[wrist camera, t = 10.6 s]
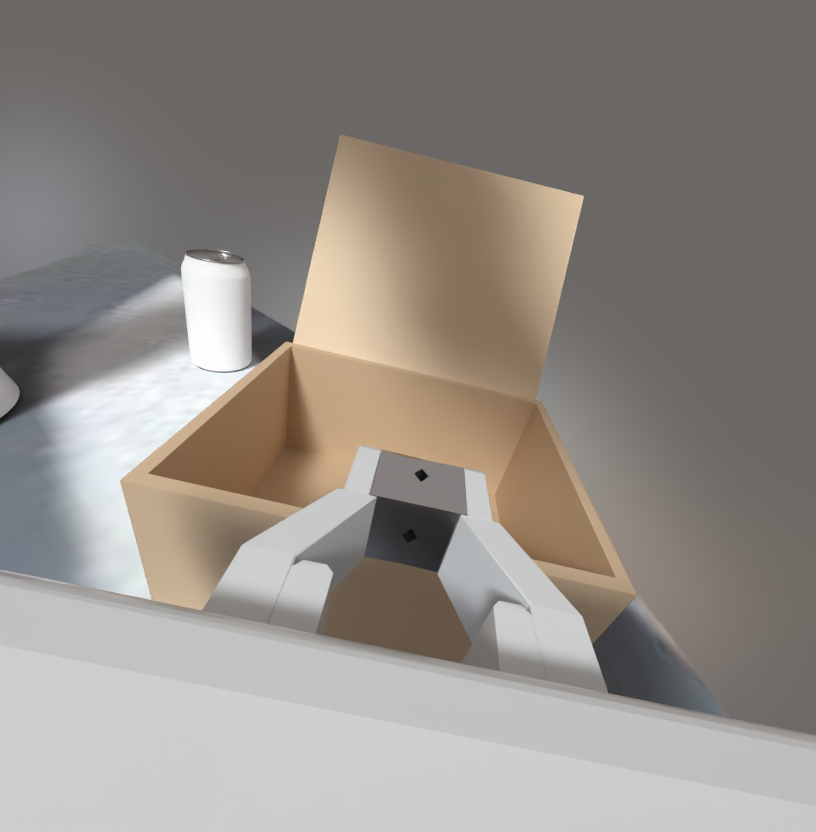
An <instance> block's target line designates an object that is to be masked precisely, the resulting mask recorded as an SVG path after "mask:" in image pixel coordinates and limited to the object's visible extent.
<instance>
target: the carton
mask: <svg viewBox="0 0 816 832" xmlns="http://www.w3.org/2000/svg"><path fill="white" fill-rule="evenodd" d="M360 445H366V446H370V447H375V448H379V449H381V451H382V449H383V450H388V451H392V452H396V453H400V454H404V455H408V456H412V457H417V458H421V459H423V460H428V461H433V462H437V463H442V464H447V465H452V466H456V467H461V468H462V467H465V468H470V469H475V470H480V471H483V472H484V473H485V475H486V481H487V487H488V493H489V499H490V505H491V511H492V517H493V522H497V523H500V524H501V525H502V526H503V528H504V529H505V530H506V531H507V532H508V533H509V534H510V535H511V537H512V538H513V539H514V540H515V541H516V542H517V543H518V545H519V546H520V547H521V548H522V549H523V550H524V551H525V552H526V554H527V555H528V556H529V557H530V558H531V559H532V560H533V561H534V563H535V564H536V565H537V566H538V567H539V568H540V569H541V570H542V572H543V573H544V574H545V575H546V576H547V577H548V578H549V579H550V581H551V582H552V583H553V584H554V585H555V586H556V587H557V589H558V590H559V591H560V592H561V593H562V594H563V595H564V596H565V598H566V599H567V600H568V601H569V602H570V603H571V604H572V605H573V607H574V608H575V609H576V610H577V611H578V612H579V613H580V614H581V616H582V617H583V620H584V623H585V626H586V629H587V631H588V634H589V637H590V640H591V643H592V644H593V643H594V642H595V641H596V640H597V639H598V638H599V636H600V635H601V634H602V633H603V632H604V631H605V630H606V629H607V628H608V627H609V625H610V624H611V623H612V622H613V621H614V620H615V619H616V618H617V617H618V616H619V615H620V613H621V612H622V611H623V610H624V609H625V608H626V607H627V606H628V605H629V604H630V602H631V601H632V600H633V599H634V598H635V597H636V596H637V593H636V591H635V589H634V587H633V585H632V584H631V581H630V579H629V577H628V575H627V573H626V571H625V569H624V567H623V565H622V563H621V561H620V559H619V557H618V555H617V553H616V551H615V549H614V547H613V545H612V543H611V541H610V539H609V537H608V535H607V533H606V531H605V529H604V527H603V525H602V523H601V520H600V518H599V516H598V514H597V513H596V510H595V509H594V506H593V504H592V502H591V500H590V498H589V496H588V494H587V492H586V490H585V488H584V486H583V484H582V482H581V480H580V478H579V476H578V474H577V472H576V470H575V468H574V466H573V464H572V462H571V460H570V458H569V456H568V454H567V452H566V450H565V448H564V446H563V444H562V442H561V440H560V437H559V435H558V433H557V431H556V429H555V428H554V426H553V423H552V421H551V419H550V417H549V415H548V413H547V411H546V409H545V407H544V405H543V403H542V402H541V401H537V400H533V399H528V398H524V397H520V396H516V395H511V394H507V393H503V392H499V391H494V390H490V389H486V388H482V387H477V386H473V385H469V384H465V383H460V382H456V381H452V380H448V379H443V378H439V377H435V376H431V375H426V374H422V373H418V372H414V371H409V370H405V369H401V368H397V367H392V366H388V365H384V364H380V363H375V362H371V361H367V360H363V359H358V358H354V357H350V356H346V355H341V354H337V353H333V352H329V351H324V350H320V349H316V348H312V347H307V346H303V345H299V344H295V343H290V342H285V343H284V344H283V345H281V346H280V347H279V348H278V349H277V350H275V351H274V352H273V353H272V354H271V355H269V356H268V357H267V358H266V359H265V360H263V361H262V362H261V363H260V364H259V365H258V366H256V367H255V368H254V369H253V370H252V371H250V372H249V373H248V374H247V375H246V376H244V377H243V378H242V379H241V380H240V381H238V382H237V383H236V384H235V385H234V386H232V387H231V388H230V389H229V390H228V391H226V392H225V393H224V394H223V395H222V396H220V397H219V398H218V399H217V400H216V401H214V402H213V403H212V404H211V405H210V406H208V407H207V408H206V409H205V410H204V411H202V412H201V413H200V414H199V415H198V416H196V417H195V418H194V419H193V420H192V421H190V422H189V423H188V424H187V425H186V426H185V427H183V428H182V429H181V430H180V431H179V432H177V433H176V434H175V435H174V436H173V437H171V438H170V439H169V440H168V441H167V442H165V443H164V444H163V445H162V446H161V447H159V448H158V449H157V450H156V451H155V452H153V453H152V454H151V455H150V456H149V457H147V458H146V459H145V460H144V461H143V462H141V463H140V464H139V465H138V466H137V467H135V468H134V469H133V470H132V471H131V472H129V473H128V474H127V475H126V476H125V477H123V478H122V479H121V480H120V482H121V486H122V490H123V493H124V497H125V501H126V505H127V508H128V512H129V516H130V519H131V523H132V527H133V531H134V534H135V538H136V542H137V546H138V549H139V553H140V557H141V561H142V564H143V568H144V572H145V576H146V579H147V583H148V587H149V591H150V594H151V598H152V600H153V601H157V602H162V603H167V604H172V605H177V606H182V607H187V608H192V609H197V610H203V608H204V606H205V605H206V603H207V601H208V600H209V598H210V596H211V595H212V593H213V592H214V590H215V588H216V587H217V585H218V583H219V582H220V580H221V578H222V577H223V575H224V574H225V572H226V570H227V569H228V567H229V565H230V564H231V562H232V560H233V559H234V557H235V555H236V554H237V552H238V551H239V549H240V547H241V546H242V544H244V543H246V542H247V541H249V540H251V539H252V538H254V537H256V536H257V535H259V534H261V533H262V532H264V531H266V530H268V529H269V528H271V527H273V526H274V525H276V524H278V523H279V522H281V521H283V520H284V519H286V518H288V517H289V516H291V515H293V514H294V513H296V512H298V511H299V510H301V509H303V508H305V507H306V506H308V505H310V504H311V503H313V502H315V501H316V500H318V499H320V498H321V497H323V496H325V495H326V494H328V493H330V492H331V491H333V490H335V489H337V488H339V489H344V487H345V484H346V481H347V478H348V476H349V473H350V470H351V467H352V465H353V462H354V459H355V456H356V453H357V451H358V448H359V446H360ZM323 635H324V636H329V637H334V638H339V639H344V640H349V641H354V642H359V643H364V644H368V645H373V646H378V647H383V648H388V649H393V650H398V651H403V652H408V653H413V654H417V655H422V656H427V657H432V658H437V659H442V660H447V661H452V662H457V663H462V661H463V659H464V657H465V655H466V654H467V652H468V650H469V648H470V647H471V645H472V642H471V640H470V638H469V636H468V634H467V632H466V630H465V628H464V626H463V624H462V622H461V620H460V618H459V616H458V614H457V612H456V610H455V608H454V606H453V604H452V602H451V600H450V598H449V596H448V594H447V592H446V590H445V588H444V586H443V584H442V582H441V580H440V578H439V576H438V572H433V571H429V570H425V569H421V568H417V567H412V566H408V565H404V564H400V563H394V562H389V561H383V560H378V559H372V558H367V557H364V559H363V560H362V561H361V562H360V563H359V564H358V565H357V566H356V567H355V568H354V569H353V570H352V571H351V572H350V573H349V574H348V575H347V576H346V577H345V578H344V579H343V580H342V581H341V582H340V583H339V584H338V585H337V586H336V587H335V588H334V589H333V590H332V591H331V592H330V596H329V603H328V609H327V615H326V622H325V628H324V634H323Z"/></svg>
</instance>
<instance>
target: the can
mask: <svg viewBox="0 0 816 832" xmlns="http://www.w3.org/2000/svg"><path fill="white" fill-rule="evenodd" d="M184 253H185V258H184V261H183V263H182V266H181V274H182V285H183V294H184V304H185V313H186V322H187V331H188V340H189V348H190V356H191V361H192V362H193V363H194V364H195V365H196V366H197V367H199V368H201V369H203V370H206V371H210V372H218V373H228V372H235V371H239V370H242V369H244V368H246V367H247V366H248V365H249V364H250V363H251V360H252V340H251V283H250V273H249V271H248V269H247V267H246V265H245V261H246V259H245V258H244V257H243V256H240V255H238V254H235V253H231V252H227V251H222V250H216V249H206V248H190V249H186V250H184Z"/></svg>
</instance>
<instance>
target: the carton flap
mask: <svg viewBox="0 0 816 832" xmlns="http://www.w3.org/2000/svg"><path fill="white" fill-rule="evenodd" d="M583 197H584V196H582V195H577V194H573V193H570V192H566V191H562V190H558V189H554V188H550V187H546V186H542V185H538V184H534V183H530V182H526V181H522V180H518V179H514V178H510V177H506V176H502V175H498V174H494V173H491V172H486V171H483V170H479V169H475V168H471V167H467V166H463V165H459V164H455V163H451V162H447V161H443V160H439V159H435V158H431V157H427V156H423V155H419V154H415V153H411V152H407V151H403V150H399V149H395V148H392V147H388V146H383V145H379V144H376V143H372V142H367V141H364V140H360V139H356V138H351V137H348V136H344V135H340V138H339V143H338V147H337V151H336V156H335V160H334V165H333V169H332V174H331V178H330V182H329V187H328V191H327V195H326V199H325V204H324V209H323V213H322V217H321V221H320V226H319V231H318V235H317V239H316V243H315V248H314V252H313V257H312V261H311V266H310V270H309V274H308V279H307V283H306V288H305V292H304V296H303V301H302V305H301V310H300V314H299V318H298V322H297V327H296V331H295V336H294V340H293V343H295V344H299V345H303V346H307V347H312V348H316V349H320V350H324V351H329V352H333V353H337V354H341V355H346V356H350V357H354V358H358V359H363V360H367V361H371V362H375V363H380V364H384V365H388V366H392V367H397V368H401V369H405V370H409V371H414V372H418V373H422V374H426V375H431V376H435V377H439V378H443V379H448V380H452V381H456V382H460V383H465V384H469V385H473V386H477V387H482V388H486V389H490V390H494V391H499V392H503V393H507V394H511V395H516V396H520V397H524V398H528V399H533V400H536V397H537V392H538V388H539V383H540V379H541V375H542V371H543V367H544V363H545V358H546V354H547V350H548V346H549V341H550V337H551V333H552V329H553V325H554V320H555V316H556V312H557V308H558V303H559V299H560V294H561V291H562V286H563V282H564V278H565V273H566V269H567V265H568V261H569V257H570V253H571V248H572V244H573V240H574V235H575V231H576V227H577V223H578V219H579V214H580V210H581V206H582V201H583Z"/></svg>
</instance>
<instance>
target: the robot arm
mask: <svg viewBox="0 0 816 832" xmlns="http://www.w3.org/2000/svg"><path fill="white" fill-rule="evenodd" d="M19 394H20V392H19V388H18V386H17V384H16V383H15V382H14V381H13V380H12V379H11V378H10V377H9V376H8V375H7V374H6V373H5V372H4V371H3V369H2V368H1V367H0V418H1V417H2V416H3V415H5V414H6V413H7V412H8V411H9V410H11V408H12V407H13V406H14V405H15V404H16V402H17V400H18V398H19ZM364 557H367V558H372V559H378V560H383V561H389V562H394V563H400V564H404V565H408V566H412V567H417V568H421V569H425V570H429V571H433V572H438V576H439V578H440V580H441V582H442V584H443V586H444V588H445V590H446V592H447V594H448V596H449V598H450V600H451V602H452V604H453V606H454V608H455V610H456V612H457V614H458V616H459V618H460V620H461V622H462V624H463V626H464V628H465V630H466V632H467V634H468V636H469V638H470V640H471V642H472V645H471V647H470V648H469V650H468V652H467V654H466V655H465V657H464V659H463V661H462V663H457V662H452V661H447V660H442V659H437V658H432V657H427V656H422V655H417V654H413V653H408V652H403V651H398V650H393V649H388V648H383V647H378V646H373V645H368V644H364V643H359V642H354V641H349V640H344V639H339V638H334V637H329V636H324V635H323V634H324V628H325V622H326V615H327V609H328V603H329V596H330V592H331V591H332V590H333V589H334V588H335V587H336V586H337V585H338V584H339V583H340V582H341V581H342V580H343V579H344V578H345V577H346V576H347V575H348V574H349V573H350V572H351V571H352V570H353V569H354V568H355V567H356V566H357V565H358V564H359V563H360V562H361V561H362V560H363V559H364ZM0 832H816V735H811V734H806V733H801V732H796V731H791V730H786V729H781V728H776V727H771V726H767V725H762V724H757V723H752V722H747V721H742V720H737V719H733V718H728V717H723V716H718V715H713V714H708V713H703V712H698V711H693V710H688V709H684V708H679V707H674V706H669V705H664V704H659V703H654V702H649V701H644V700H639V699H634V698H629V697H625V696H620V695H615V694H610V693H608V690H607V687H606V684H605V681H604V678H603V676H602V673H601V670H600V667H599V664H598V661H597V658H596V655H595V652H594V649H593V646H592V643H591V640H590V637H589V634H588V631H587V629H586V626H585V623H584V620H583V617H582V616H581V614H580V613H579V612H578V611H577V610H576V609H575V608H574V607H573V605H572V604H571V603H570V602H569V601H568V600H567V599H566V598H565V596H564V595H563V594H562V593H561V592H560V591H559V590H558V589H557V587H556V586H555V585H554V584H553V583H552V582H551V581H550V579H549V578H548V577H547V576H546V575H545V574H544V573H543V572H542V570H541V569H540V568H539V567H538V566H537V565H536V564H535V563H534V561H533V560H532V559H531V558H530V557H529V556H528V555H527V554H526V552H525V551H524V550H523V549H522V548H521V547H520V546H519V545H518V543H517V542H516V541H515V540H514V539H513V538H512V537H511V535H510V534H509V533H508V532H507V531H506V530H505V529H504V528H503V526H502V525H501V524H500V523H497V522H493V517H492V511H491V505H490V499H489V493H488V487H487V481H486V475H485V473H484V472H483V471H480V470H475V469H470V468H465V467H462V468H461V467H456V466H452V465H447V464H442V463H437V462H433V461H428V460H423V459H421V458H417V457H412V456H408V455H404V454H400V453H396V452H392V451H388V450H383V449H382V451H381V449H379V448H375V447H370V446H366V445H360V446H359V448H358V451H357V453H356V456H355V459H354V462H353V465H352V467H351V470H350V473H349V476H348V478H347V481H346V484H345V487H344V489H339V488H337V489H335V490H333V491H331V492H330V493H328V494H326V495H325V496H323V497H321V498H320V499H318V500H316V501H315V502H313V503H311V504H310V505H308V506H306V507H305V508H303V509H301V510H299V511H298V512H296V513H294V514H293V515H291V516H289V517H288V518H286V519H284V520H283V521H281V522H279V523H278V524H276V525H274V526H273V527H271V528H269V529H268V530H266V531H264V532H262V533H261V534H259V535H257V536H256V537H254V538H252V539H251V540H249V541H247V542H246V543H244V544H242V546H241V547H240V549H239V551H238V552H237V554H236V555H235V557H234V559H233V560H232V562H231V564H230V565H229V567H228V569H227V570H226V572H225V574H224V575H223V577H222V578H221V580H220V582H219V583H218V585H217V587H216V588H215V590H214V592H213V593H212V595H211V596H210V598H209V600H208V601H207V603H206V605H205V606H204V608H203V610H197V609H192V608H187V607H182V606H177V605H172V604H167V603H162V602H157V601H153V600H148V599H143V598H138V597H133V596H128V595H123V594H118V593H113V592H108V591H104V590H99V589H94V588H89V587H84V586H79V585H74V584H69V583H64V582H59V581H54V580H50V579H45V578H40V577H35V576H30V575H25V574H20V573H15V572H10V571H5V570H0Z"/></svg>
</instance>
